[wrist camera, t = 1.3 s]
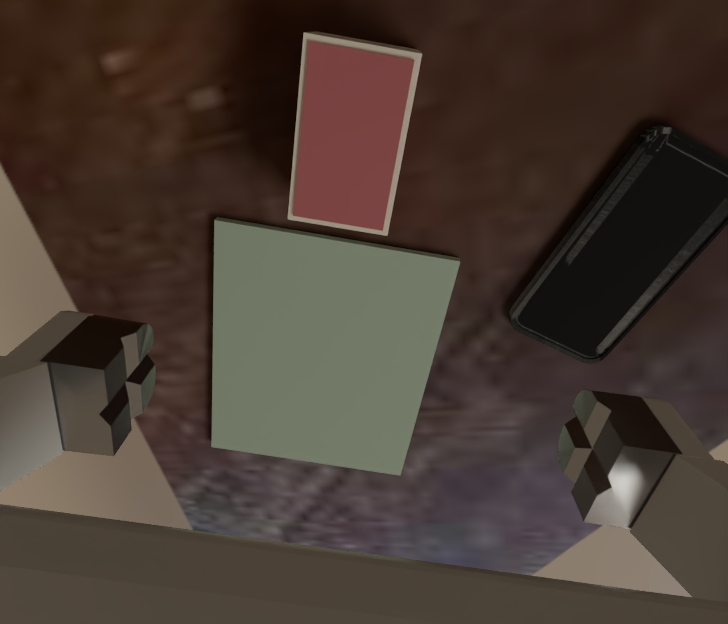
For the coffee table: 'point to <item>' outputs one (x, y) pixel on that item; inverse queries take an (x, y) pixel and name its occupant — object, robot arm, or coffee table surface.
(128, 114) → the coffee table surface
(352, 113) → the card case
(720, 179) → the phone
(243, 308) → the mat
